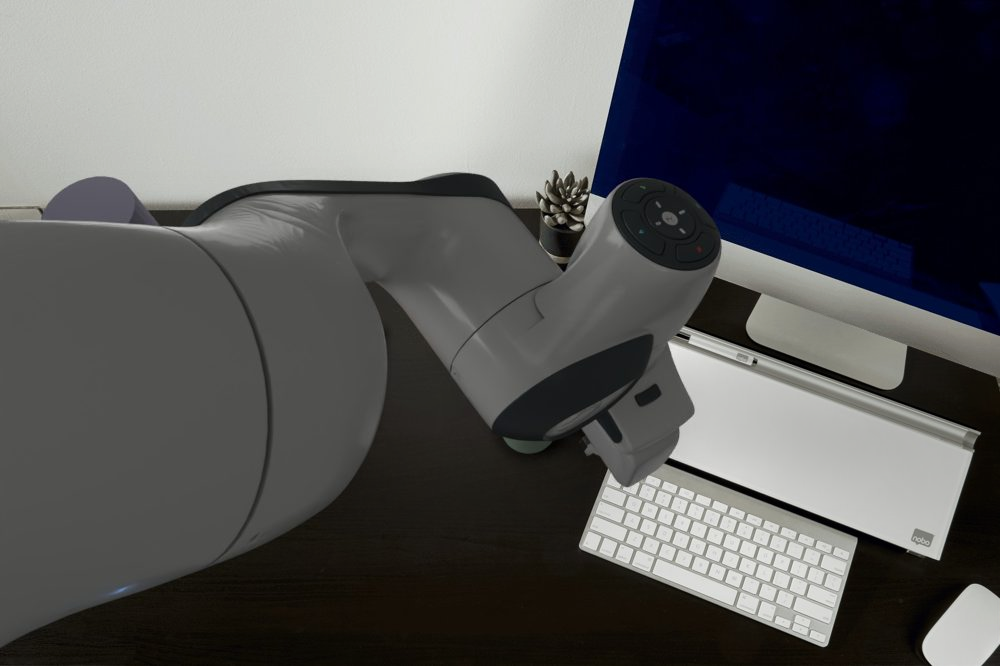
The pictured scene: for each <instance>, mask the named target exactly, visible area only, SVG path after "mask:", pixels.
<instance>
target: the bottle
mask: <svg viewBox="0 0 1000 666" xmlns="http://www.w3.org/2000/svg"><path fill="white" fill-rule="evenodd" d="M502 438H503V440H504V442H505V443H506V445H507V446H509V448H511V449H513V450H514V451H516V452H519V453H522V454H529V455H530V454H536V453H539V452H541V451H544V450H545V449H546V448H548V447H549V446H550V445H551V444H552V443H553V441H520V440H513V439H509V438H505V437H502Z"/></svg>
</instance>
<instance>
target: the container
mask: <svg viewBox="0 0 1000 666" xmlns="http://www.w3.org/2000/svg"><path fill="white" fill-rule="evenodd" d="M40 220H66V221H98V222H113V223H127V224H141V225H151V226H161V225H160V223H159V222H158V221H157V220H156V219H155V218H154V216H153V215H152V214H151V212H150V211H149V210H148V209H147V208H146V206H145V205H144V204H143V202H142V201H141V200H140V199H139V197H138V196H137V195H136V194H135V192H134V191H133V190H132V188H131V187H129V185H128V184H127V183H125V182H124V181H123V180H121V179H118V178H116V177H114V176H113V177H112V176H105V175H103V176H102V175H101V176H99V175H97V176H96V175H95V176H91V177H86V178H83V179H80V180H77V181H75V182H73V183H71V184H69V185H67V186H66V187H64V188H62V189H61V190H60V191H58V192H57V193H56V194H54V196H53V197H52V199H50V200H49V202H48V203H47V205H46V206H45V208H44V209H43V212H42V214H41V217H40Z"/></svg>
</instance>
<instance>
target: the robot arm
mask: <svg viewBox="0 0 1000 666" xmlns="http://www.w3.org/2000/svg"><path fill="white" fill-rule="evenodd" d="M722 245H723V244H722V238H721V234H720V230H719V227H718V226H717V224H716V222H715V221H714V220H713V217H711V215H710V214H709V213H708V212H707V210H706V209H705V208H704V207H703V206H702V205H701V204H700V203H699V202H698V201H697V200H696V199H695V198H694V197H692V195H690V194H689V193H688V192H686V191H685V190H683V189H682V188H680V187H678V186H677V185H674V184H672V183H670V182H668V181H664V180H661V179H657V178H650V177H637V178H632V179H628V180H626V181H624V182H622V183H620V184H618V185H617V186H616V187H615V188H614V189H613V190H612V191H611V192H609V194H608V195H607V197H606V198H605V199H604V200H603V202H602V203H601V204H600V205H599V207H598V208H597V210H596V211H595V213H594V215H593V216H592V218H591V219H590V220H589V222H588V224H587V226H586V227H585V229H584V231H583V233H582V234H581V236H580V239H579V240H578V242H577V244H576V246H575V247H574V250H573V252H572V254H571V256H570V259H569V261H568V263H567V266H566V268H565V270H564V271H563V270H562V269H561V267H560V266H559V264H557V262H556V261H555V260H554V259H553V258H552V256H551V255H550V254H549V253H548V252H547V250H546V249H545V248H544V247H543V246H542V244H541V243H540V242H539V241H538V240H537V238H536V237H535V236H534V235H533V233H532V232H531V231H530V230H529V228H528V227H527V226H526V225H525V224H524V223H523V222H522V220H521V217H520V216H519V214H518V213H517V211H516V210H515V208H514V207H513V205H512V204H511V203H510V201H509V200H508V198H507V197H506V196H505V193H503V191H502V190H501V188H500V187H499V186H498V184H497V183H496V182H495V181H494V180H493V179H492V178H491V177H488V176H486V175H483V174H479V173H472V172H463V171H462V172H461V171H454V172H453V171H452V172H451V171H450V172H441V173H436V174H432V175H428V176H425V177H422V178H419V179H416V180H411V181H385V180H384V181H383V180H382V181H381V180H379V181H378V180H340V179H339V180H338V179H279V180H267V181H259V182H253V183H246V184H242V185H239V186H235V187H232V188H229V189H226V190H224V191H222V192H219V193H217V194H215V195H214V196H212V197H210V198H208V199H207V200H205V201H204V202H202V203H201V204H199V206H198V207H196V208H194V210H193V211H192V212H190V214H189V215H188V216H187V217H185V220H184V221H183V222H182V223H181V225H180V226H165V225H160V226H151V225H141V224H127V223H113V222H98V221H66V220H41V219H3V220H2V219H1V220H0V649H1V648H3V647H5V646H7V645H8V644H10V643H11V642H14V641H16V640H17V639H20V638H21V637H23V636H25V635H27V634H29V633H31V632H33V631H36V630H38V629H41V628H42V627H45V626H48V625H49V624H51V623H54V622H56V621H59V620H61V619H63V618H65V617H68V616H71V615H73V614H77V613H79V612H82V611H85V610H88V609H91V608H94V607H97V606H100V605H103V604H106V603H109V602H112V601H116V600H118V599H122V598H124V597H125V598H126V597H128V596H131V595H134V594H138V593H140V592H143V591H146V590H149V589H152V588H155V587H157V586H160V585H163V584H166V583H169V582H171V581H174V580H177V579H180V578H183V577H185V576H188V575H191V574H194V573H196V572H197V573H198V572H199V571H202V570H204V569H207V568H210V567H213V566H215V565H218V564H220V563H223V562H226V561H228V560H230V559H233V558H235V557H238V556H240V555H243V554H246V553H247V552H250V551H252V550H254V549H256V548H259V547H261V546H263V545H265V544H267V543H269V542H271V541H273V540H276V539H277V538H278V537H280V536H282V535H284V534H286V533H288V532H289V531H291V530H293V529H295V528H296V527H298V526H300V525H301V524H303V523H305V522H306V521H308V520H309V519H311V518H313V517H314V516H315V515H317V514H318V513H321V511H323V510H324V509H325V508H327V507H328V506H330V505H331V504H332V503H333V502H334V501H336V499H337V498H338V497H340V495H341V494H342V493H343V491H345V490H346V488H347V487H348V486H349V484H350V483H351V482H352V480H353V479H354V478H355V476H356V474H357V473H358V471H359V469H360V467H361V466H362V465H363V463H364V461H365V459H366V458H367V456H368V454H369V452H370V449H371V447H372V444H373V442H374V440H375V437H376V434H377V432H378V429H379V425H380V422H381V418H382V414H383V410H384V405H385V400H386V395H387V394H386V393H387V384H388V348H387V340H386V334H385V330H384V326H383V323H382V319H381V316H380V313H379V310H378V308H377V306H376V303H375V301H374V299H373V298H372V295H371V293H370V291H369V289H368V287H367V285H366V284H367V283H372V282H375V283H376V284H378V285H379V286H381V287H382V288H383V290H385V291H386V292H387V293H388V294H389V295H390V296H391V297H392V299H394V300H395V301H396V303H397V304H398V305H399V306H400V307H401V308H402V310H403V311H404V312H405V314H406V315H407V316H408V318H409V319H410V320H411V321H412V323H413V324H414V326H415V327H416V328H417V330H418V332H419V333H420V334H421V335H422V337H423V338H424V340H425V341H426V343H427V344H428V345H429V346H430V348H431V349H432V350H433V352H434V354H435V355H436V356H437V357H438V359H439V360H440V362H441V363H442V364H443V365H444V367H445V369H446V370H447V371H448V372H449V375H450V376H451V378H452V379H453V381H454V382H455V384H457V386H458V387H459V388H460V390H461V391H462V393H463V394H464V396H465V397H466V399H467V401H469V402H470V404H471V405H472V406H473V408H474V409H475V410H476V412H477V413H478V414H479V416H480V417H481V418H482V419H483V421H484V422H485V424H486V425H487V426H488V427H489V428H490V430H491V432H492V433H493V434H494V435H496V436H498V437H502V438H503V437H505V438H509V439H513V440H520V441H552V442H554V441H558V440H562V439H564V438H566V437H568V436H570V435H572V434H574V433H576V432H578V431H580V430H581V431H582V432H583V434H584V436H583V437H581V439H580V440H579V441H578V444H579V446H580V447H581V449H582V450H583V452H584V453H585V455H586V456H587V457H589V456H591V455H592V454H594V455H596V456H599V458H601V459H600V460H602V462H603V463H604V465H605V466H606V467H607V469H608V470H609V472H610V474H611V475H612V477H613V479H614V480H615V481H616V482H617V483H618V484H619V485H621V486H622V487H624V488H631V487H632V486H635V485H636V484H638V483H639V482H641V481H643V480H644V479H646V478H647V477H649V476H650V475H652V474H653V473H654V472H656V471H657V470H659V469H660V468H662V466H663V465H664V464H665V463H666V462H667V460H668V459H669V458H670V457H671V455H672V454H673V452H674V450H675V449H676V447H677V446H678V443H679V440H680V435H681V434H680V433H681V432H680V428H681V427H682V426H683V425H684V424H685V423H687V422H688V421H689V420H690V419H691V418H692V417H694V415H695V414H696V413H695V411H696V409H695V404H694V402H693V400H692V398H691V396H690V394H689V392H688V390H687V388H686V386H685V384H684V382H683V380H682V377H681V376H680V373H679V371H678V369H677V366H676V364H675V360H674V359H673V355H672V351H671V348H670V344H669V342H670V341H671V340H672V339H673V338H674V337H675V336H677V335H678V334H679V333H680V331H681V330H682V329H683V328H684V326H685V325H686V324H687V323H688V321H689V320H690V319H691V317H692V315H693V314H694V312H695V311H696V310H697V309H698V307H699V305H700V303H701V302H702V300H703V299H704V297H705V295H706V293H707V291H708V290H709V288H710V286H711V284H712V282H713V279H714V278H715V275H716V273H717V270H718V268H719V265H720V262H721V258H722V250H723V246H722Z"/></svg>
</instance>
